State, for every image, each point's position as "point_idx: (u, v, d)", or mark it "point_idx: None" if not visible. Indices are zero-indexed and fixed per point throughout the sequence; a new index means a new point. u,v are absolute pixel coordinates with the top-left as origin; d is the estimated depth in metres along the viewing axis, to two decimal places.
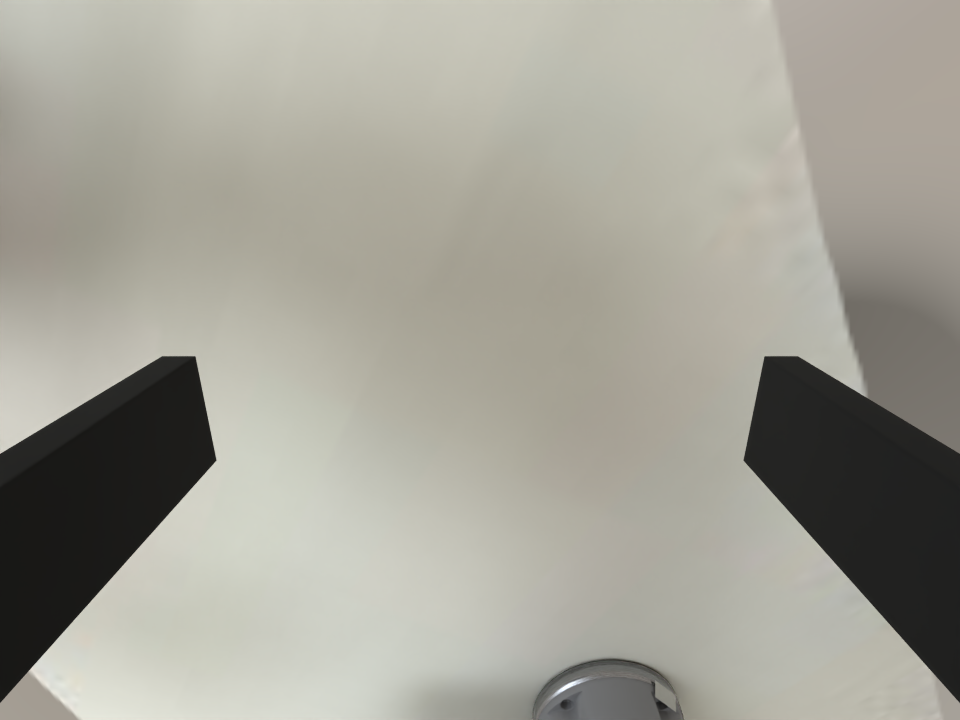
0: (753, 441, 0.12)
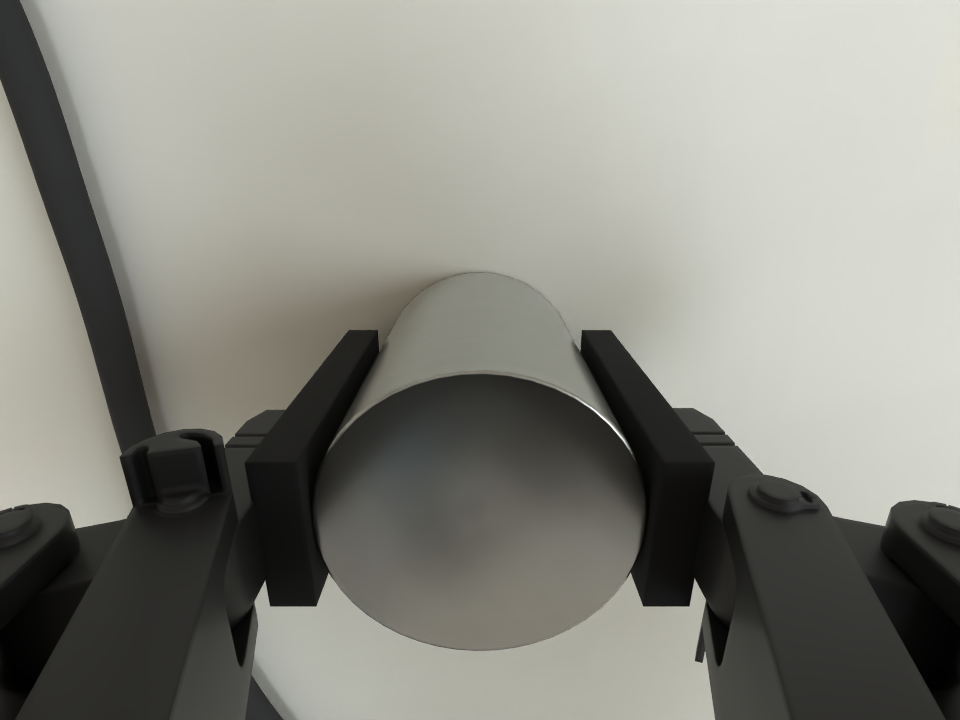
0: None
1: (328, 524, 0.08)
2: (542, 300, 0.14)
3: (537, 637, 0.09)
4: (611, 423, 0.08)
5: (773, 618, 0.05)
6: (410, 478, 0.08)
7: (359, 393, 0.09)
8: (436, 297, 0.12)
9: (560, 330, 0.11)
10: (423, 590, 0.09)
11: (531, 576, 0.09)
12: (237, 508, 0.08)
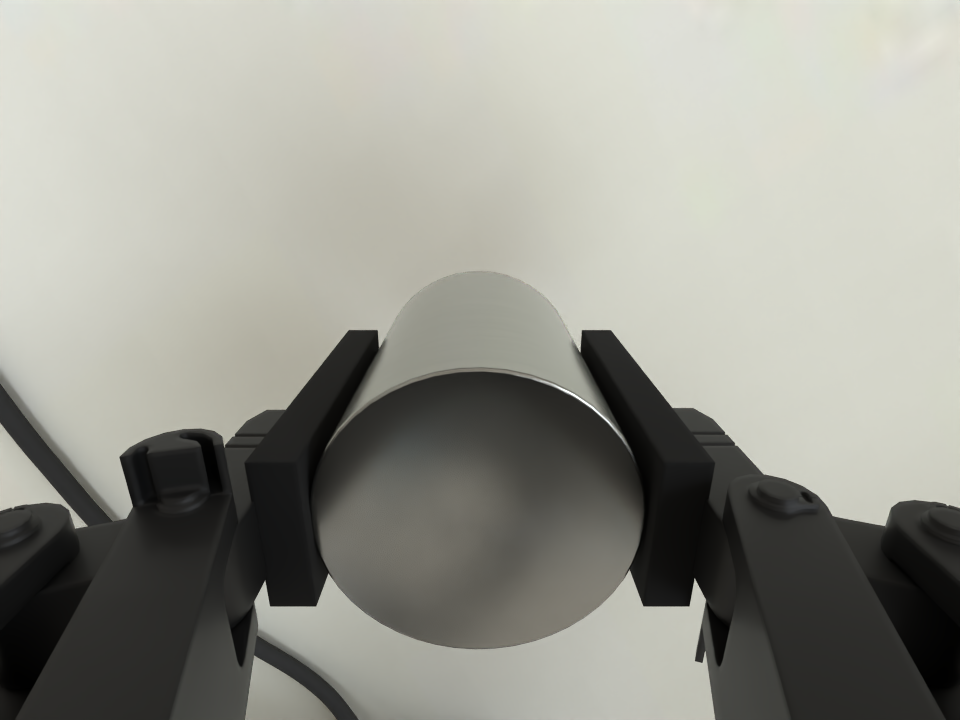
0: None
1: (326, 522, 0.08)
2: (541, 299, 0.13)
3: (535, 635, 0.09)
4: (609, 421, 0.08)
5: (773, 618, 0.05)
6: (408, 476, 0.08)
7: (357, 391, 0.09)
8: (435, 296, 0.12)
9: (559, 328, 0.11)
10: (421, 588, 0.09)
11: (529, 574, 0.09)
12: (237, 508, 0.08)
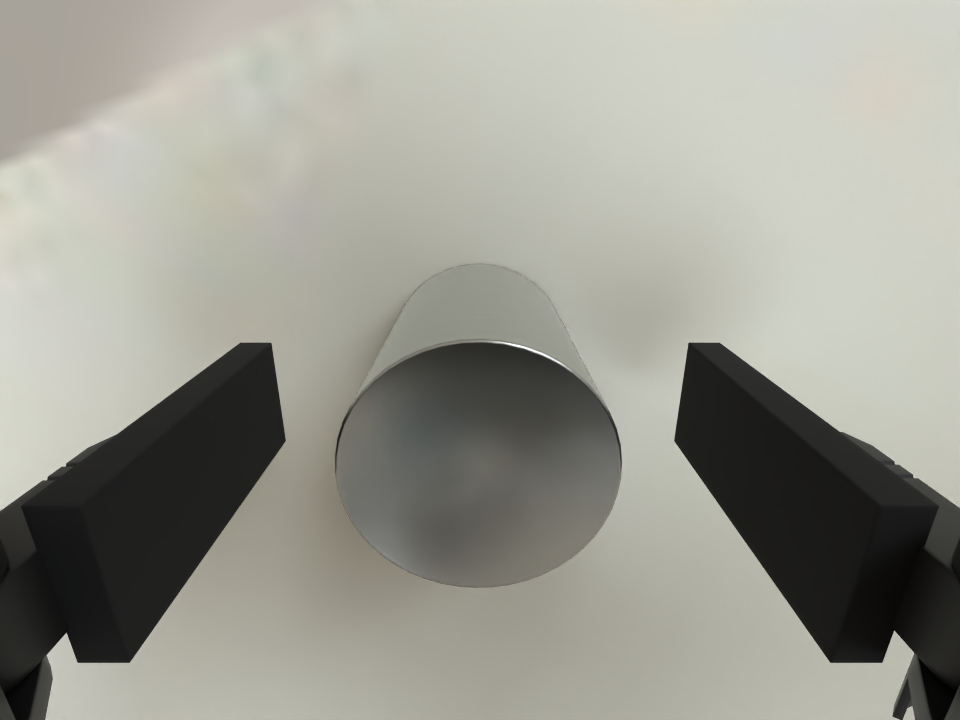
0: (681, 422, 0.13)
1: (349, 473, 0.10)
2: (535, 288, 0.15)
3: (528, 574, 0.11)
4: (589, 385, 0.09)
5: None
6: (418, 433, 0.09)
7: (374, 364, 0.11)
8: (439, 285, 0.14)
9: (550, 313, 0.13)
10: (430, 532, 0.10)
11: (522, 520, 0.10)
12: (9, 553, 0.07)
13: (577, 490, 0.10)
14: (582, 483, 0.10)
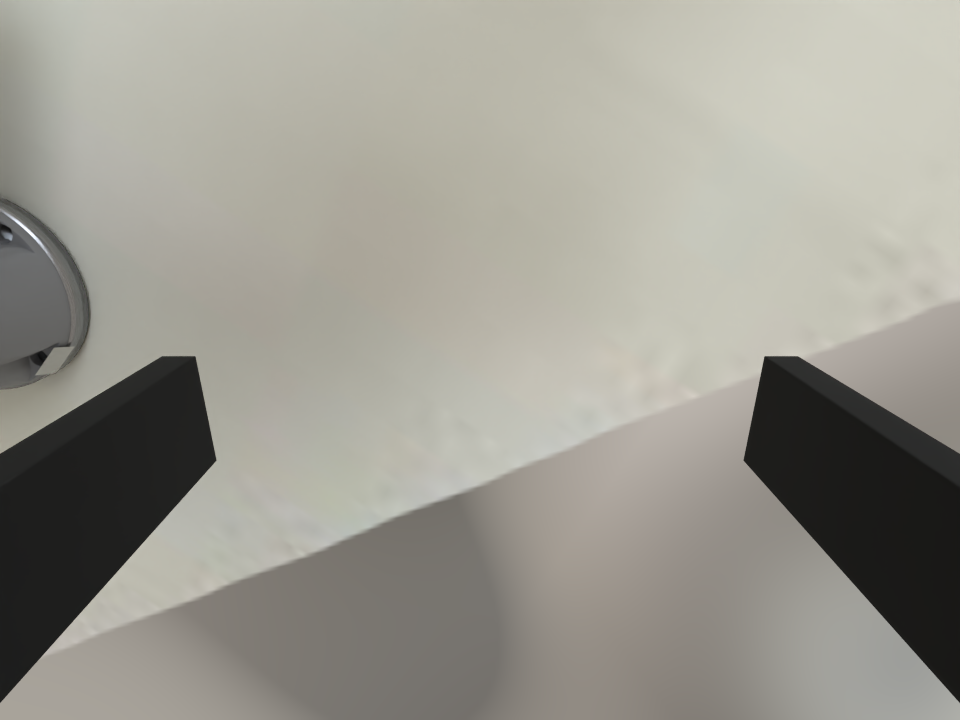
0: (754, 441, 0.12)
1: None
2: None
3: None
4: None
5: None
6: None
7: None
8: None
9: None
10: None
11: None
12: None
13: None
14: None
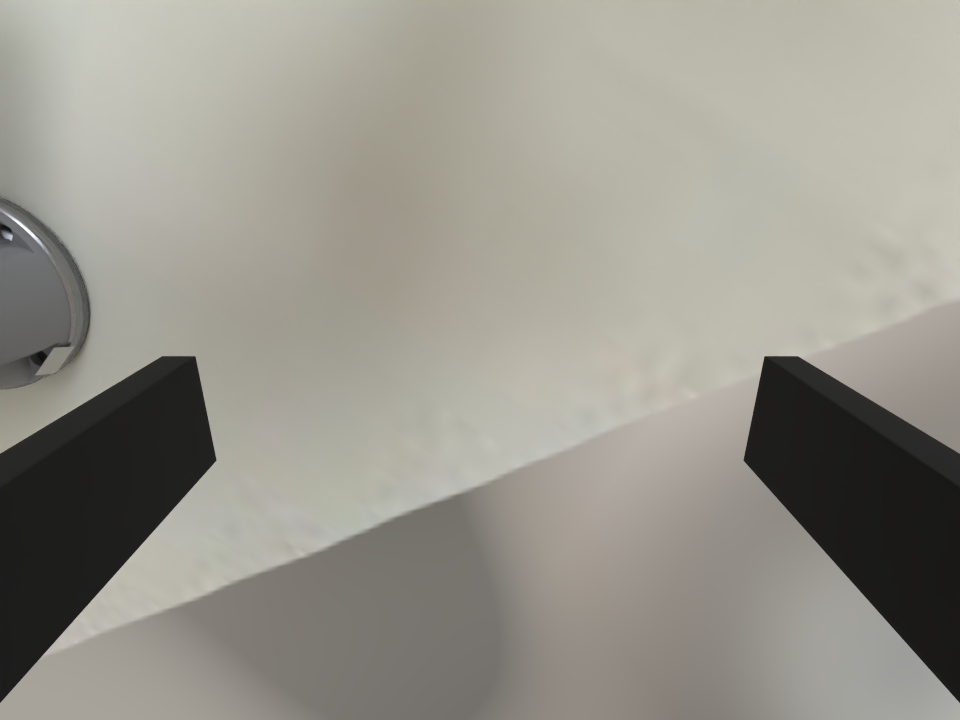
0: (754, 441, 0.12)
1: None
2: None
3: None
4: None
5: None
6: None
7: None
8: None
9: None
10: None
11: None
12: None
13: None
14: None
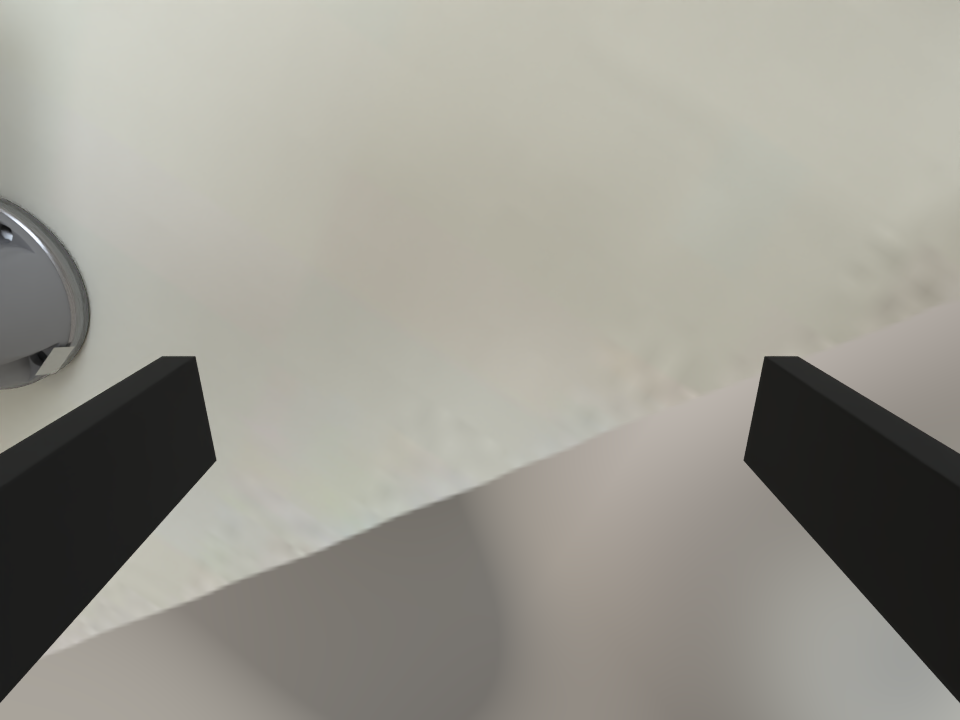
0: (754, 441, 0.12)
1: None
2: None
3: None
4: None
5: None
6: None
7: None
8: None
9: None
10: None
11: None
12: None
13: None
14: None
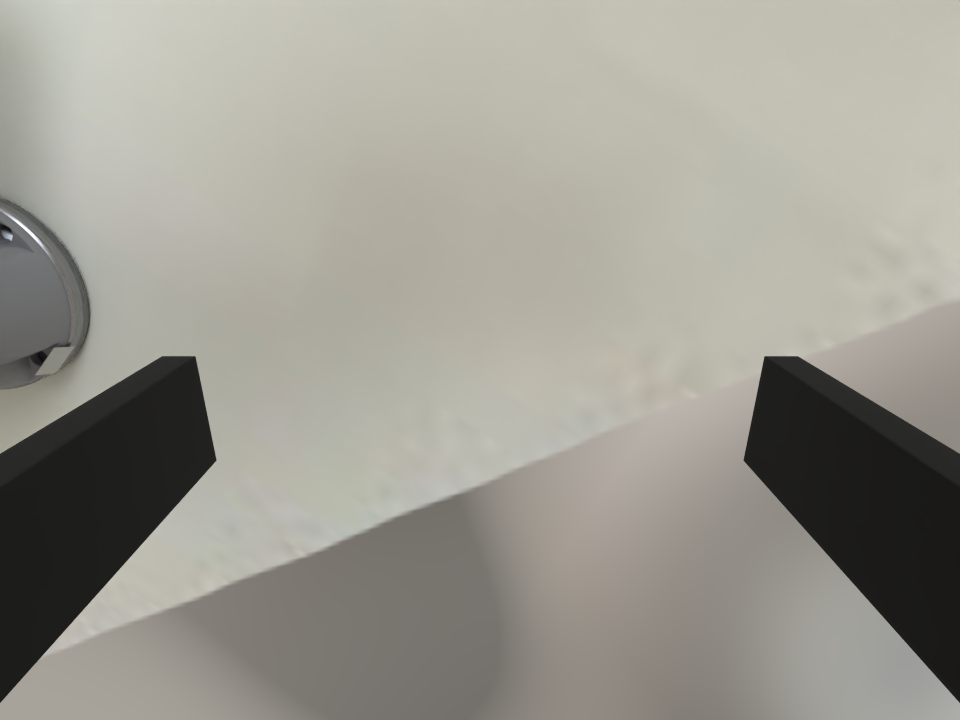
0: (754, 441, 0.12)
1: None
2: None
3: None
4: None
5: None
6: None
7: None
8: None
9: None
10: None
11: None
12: None
13: None
14: None
